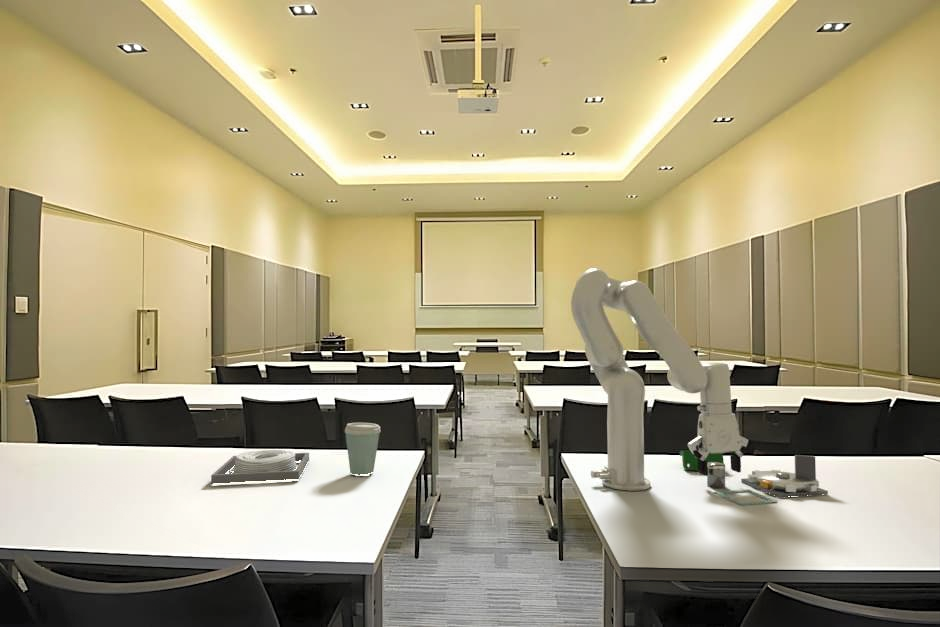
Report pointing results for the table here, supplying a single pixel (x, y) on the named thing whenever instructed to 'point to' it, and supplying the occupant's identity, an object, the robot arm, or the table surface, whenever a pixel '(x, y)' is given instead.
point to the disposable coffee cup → (362, 446)
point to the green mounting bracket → (693, 463)
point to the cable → (264, 461)
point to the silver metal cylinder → (716, 475)
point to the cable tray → (258, 476)
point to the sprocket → (790, 476)
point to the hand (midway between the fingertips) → (719, 472)
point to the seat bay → (744, 502)
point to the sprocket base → (782, 492)
